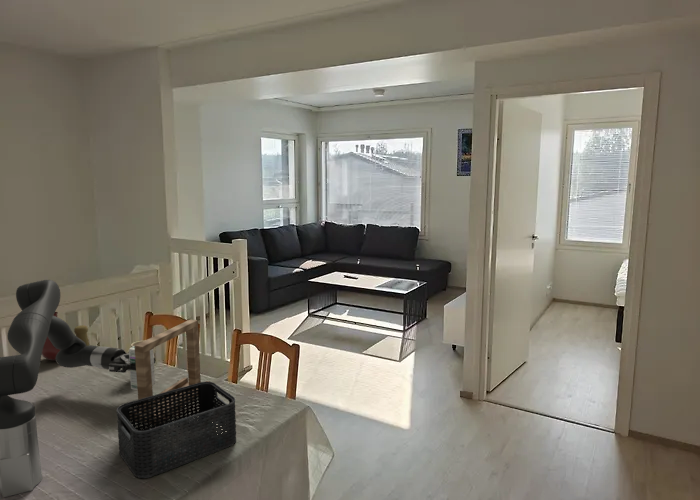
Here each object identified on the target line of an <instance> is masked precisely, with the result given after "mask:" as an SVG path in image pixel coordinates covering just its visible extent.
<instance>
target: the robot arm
mask: <svg viewBox="0 0 700 500" xmlns="http://www.w3.org/2000/svg"><path fill="white" fill-rule="evenodd" d="M15 299H16V301H17V305H18V306H19V308H20V309H21V311H19V312H18V313H17V314H16V316H15V317H14V318H13V320H12V321H11V324H10V326H9V328H8V332H7V340H8V343H9V344H10V346H11V347H12V349H14V350H15V351H16V352H17V353H18V354H17V355H16V354H15V355H6V356H0V494H1V497H2V498H7V497H10V496H15V495H19V494H23V493H27V492H30V491H33V490H34V488H35V487H36V486H37V485H39V484H40V482H41V481H42V479H43V473H42V464H41V456H40V446H39V437H38V427H37V420H36V419H37V418H36V409H35V406H34V404H33V403H32V402H31V401H28V400H24V399H23V400H22V399H17V398H14V397H11V396H12V395H19V394H25V393H28V392H30V391H32V390H33V389H35V386H36V385H37V382H38V378H39V374H40V373H39V372H40V365H41V360H42V359H41V358H42V355H41V354H42V350H43V347H44V344H45V341H46V338H47V337H48V338H49V340H50V341H51V343H52V344H53V346H54V347H55V348H57V349H59V350H60V351H59V352H58V353H57V355H56V360H55V362H56V364H58V366H61V367H63V368H67V369H68V368H69V369H70V368H71V369H72V368H79V367H80V368H81V367H85V366H87V367H88V366H89V367H94V368H99V369H104V370H108V371H109V372H110V373H112V372H113V373H127V371H129V372H130V371H131V370H135V371H136V363H132V364H131V362H130V361H129V354H127V351H125V350H124V349H122V348H117V347H110V346H98V345H89V346H86V343H85V342H84V341H82V340H81V339H79V338H78V337H77V336H76V334H75V333H74V332H73V330H72V329H71V327H70V325H69V323H67V322H66V321H65V320H63V319H62V318H60V317H58V316H57V317H56V316H53V315H54V313H55V312H57V309H58V307H59V305H60V301H61V290H60V285H59V284H58V283H57V282H56V281H55V280H52V279H41V280H37V281H33V282H30V283H26V284H22V285H20V286H18V287H17V289H16V291H15ZM155 364H156V357H154V365H155Z"/></svg>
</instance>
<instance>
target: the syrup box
mask: <svg viewBox="0 0 700 500" xmlns="http://www.w3.org/2000/svg"><path fill="white" fill-rule="evenodd" d="M128 351H129V361H130V362H131V364H132V363H136V361H135V347H134V346H133V347H131V346H130V348H128ZM154 354H155V353H154V352H153V348H152V349H150V360H151V375H152V387H153V386H155V385H156V380H155V379H156V378H155V364H154V358H155V356H154ZM129 372H130V374H129V378H130V389H131V390H135V391H138V389H137V375H136V371H135V370H131V371H129Z"/></svg>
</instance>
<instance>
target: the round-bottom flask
mask: <svg viewBox="0 0 700 500" xmlns="http://www.w3.org/2000/svg"><path fill="white" fill-rule="evenodd" d="M58 314H59V312H58V311H55V313H54V315H53V316H56V317H58ZM59 351H60V350H59V349H57V348H55V347H54V346H53V344H52V343H51V341H50V340H49V338H48V337H47V338H46V341H45V344H44V347H43V350H42V354H41V357H43V358H44V359H45V360H49V361H55V362H56V355H57V353H58V352H59Z"/></svg>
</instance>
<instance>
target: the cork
mask: <svg viewBox="0 0 700 500" xmlns="http://www.w3.org/2000/svg"><path fill="white" fill-rule="evenodd" d="M73 331H74V332H73V333H74V335H75V336H77V337H78V338H79V339H81V340H82V341H84V342H85V343H86V346H89V345H90V341H89V337H88V331H89V327H88V326H86V325H84V324H83V325H77V326H75V328H74V329H73Z"/></svg>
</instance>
